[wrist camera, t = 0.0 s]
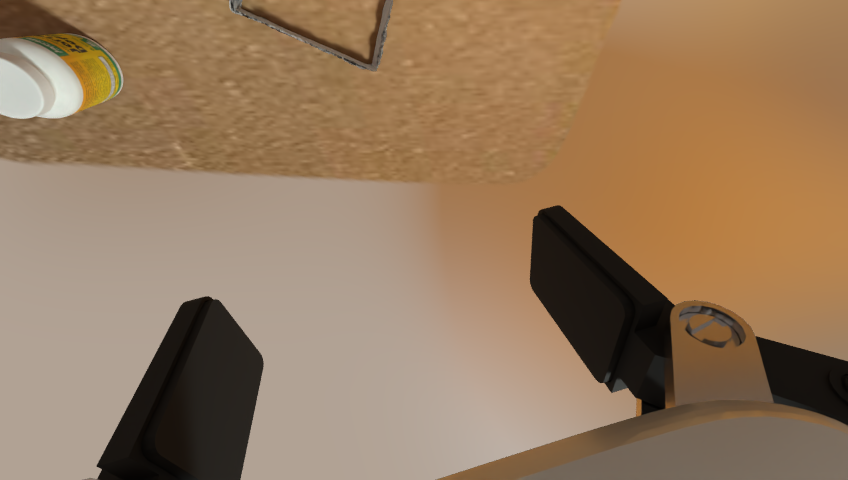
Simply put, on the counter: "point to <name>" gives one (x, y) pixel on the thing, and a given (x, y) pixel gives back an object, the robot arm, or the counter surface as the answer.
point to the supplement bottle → (55, 75)
